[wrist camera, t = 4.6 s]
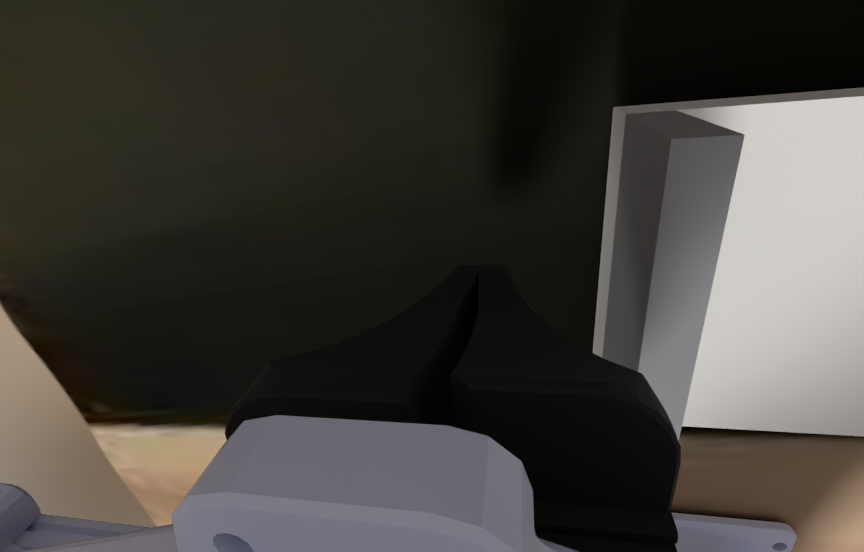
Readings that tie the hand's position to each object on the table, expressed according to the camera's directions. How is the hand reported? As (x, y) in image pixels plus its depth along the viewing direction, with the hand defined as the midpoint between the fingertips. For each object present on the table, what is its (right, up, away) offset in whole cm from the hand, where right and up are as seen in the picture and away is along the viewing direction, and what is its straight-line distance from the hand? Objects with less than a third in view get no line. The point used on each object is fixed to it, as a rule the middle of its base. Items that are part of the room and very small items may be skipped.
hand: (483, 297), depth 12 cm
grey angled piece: (+9, +1, +1) cm, 9 cm away
